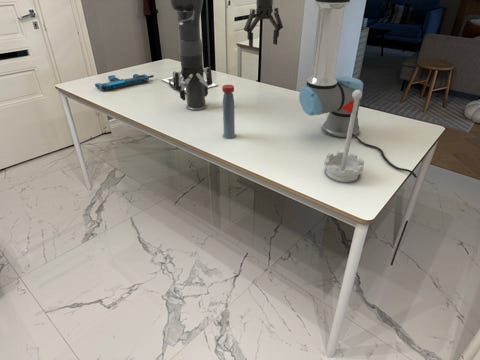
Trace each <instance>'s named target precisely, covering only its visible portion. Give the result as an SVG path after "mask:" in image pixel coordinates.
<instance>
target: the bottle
mask: <svg viewBox="0 0 480 360" xmlns="http://www.w3.org/2000/svg"><path fill="white" fill-rule="evenodd" d="M222 122H223V123H222V125H223V127H222V128H223V137H224V139H234V138H235V136H236V129H235V128H236V127H235V126H236V125H235V96H234V92H231V93H225V92H223V97H222Z"/></svg>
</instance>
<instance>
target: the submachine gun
mask: <svg viewBox="0 0 480 360" xmlns="http://www.w3.org/2000/svg"><path fill="white" fill-rule="evenodd" d="M107 77H108V80H109V82H103V83H100V82H96V83H94V86H95V88H97V89H98V90H100V91H107V90H113V91H114V90H115V89H116V88H120V87H125V86H129V85H134V84H138V83H139V84H140V83H145V82H146V83H147V81H148V80H150V79H151V78H154V77H155V76H154V74H151V75H147V74H138V73H134V74H133V75H132V77H129V78H121V79H120V78H118V77H117V76H116V75H113V74H112V75H108V76H107Z"/></svg>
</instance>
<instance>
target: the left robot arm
mask: <svg viewBox="0 0 480 360" xmlns="http://www.w3.org/2000/svg"><path fill="white" fill-rule="evenodd" d="M169 4H170V7H171V8H172V10H174V11H175V12H176V20H177V31H178V33H177V34H178V35H177V36H178V52H179V56H180V57H179V58H180V67H181V69H180V71H172V77H173V83H174V86H173V85H171V81H170V80H169V83H168V84H169V86H170V87H171V88H172V89H173V90H175V91H177V92H179V98H180V99H181V100H182V101H186V107H187V109H188V110H192V111H200V110H204V109H205V108H206V107H207V105H206V103H207V100H206V97H207V96H208V95H209V88H208V85H210V84H212V83H213V76H212V69H211V68H210V67H208V66H205V67H204V58H203V57H204V56H203V55H204V53H203V52H204V51H203V50H204V49H203V41H202V39H201V31H200V20H201V15H202V10H203V4H204V0H169ZM204 74H205V76H204ZM181 75H182V76H183V79H182V81H181V84H180V85H179V78H180V76H181ZM205 77H206V78H205ZM205 80H206V82H205ZM185 87H186V91H185V90H184V89H185Z"/></svg>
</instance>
